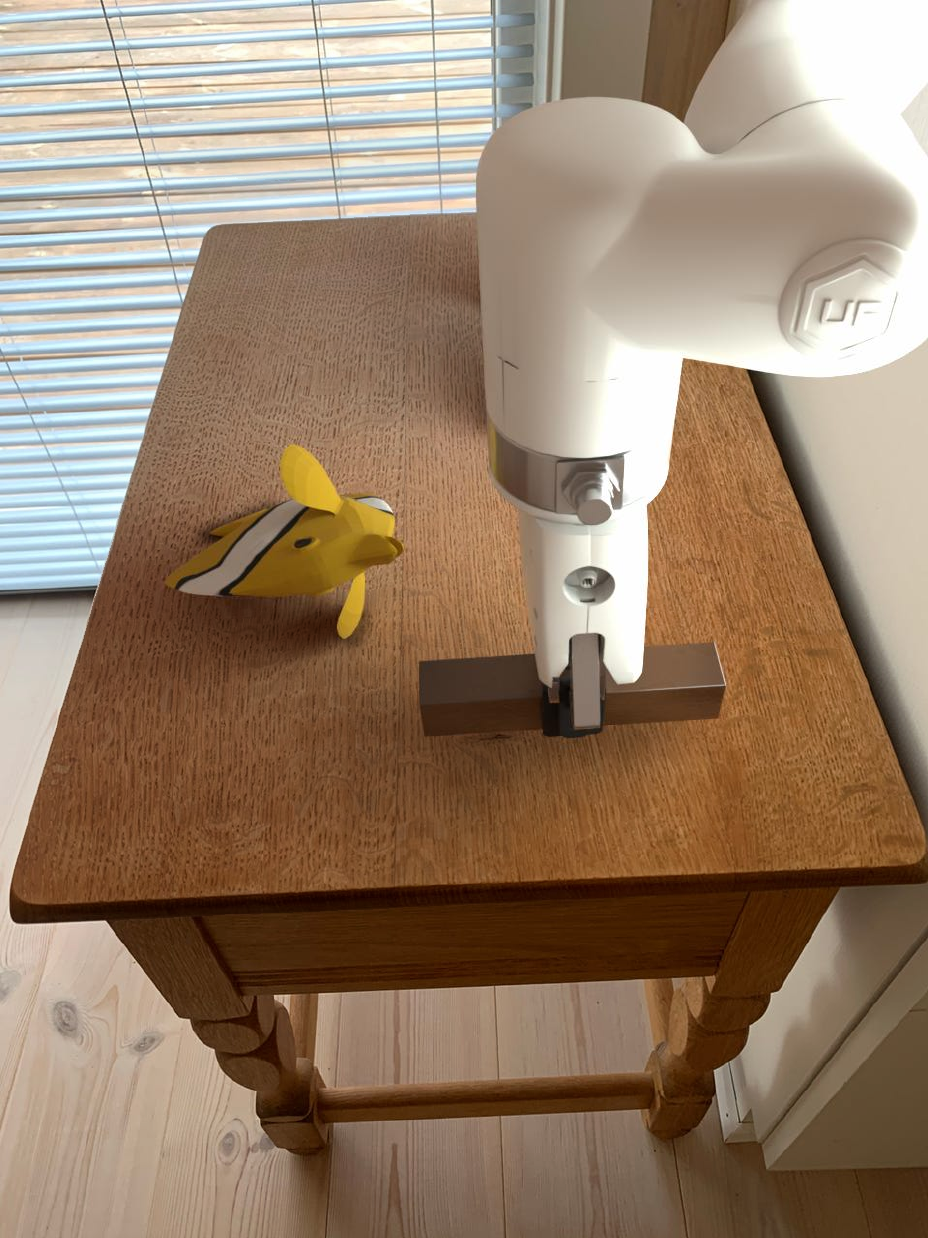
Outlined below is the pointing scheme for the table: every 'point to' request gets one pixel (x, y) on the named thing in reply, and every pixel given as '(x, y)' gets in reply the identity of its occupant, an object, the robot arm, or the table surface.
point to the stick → (513, 691)
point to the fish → (298, 544)
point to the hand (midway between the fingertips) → (568, 701)
